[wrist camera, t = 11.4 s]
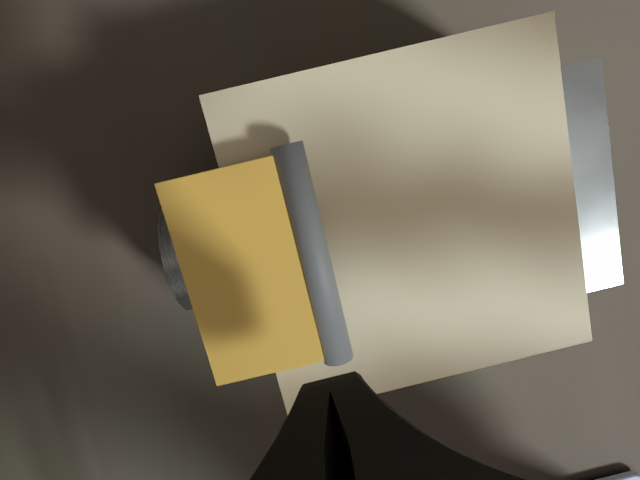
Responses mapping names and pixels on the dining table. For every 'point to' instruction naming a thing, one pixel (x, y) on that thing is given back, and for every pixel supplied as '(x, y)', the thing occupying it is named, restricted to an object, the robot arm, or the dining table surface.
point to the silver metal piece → (588, 173)
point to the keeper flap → (257, 265)
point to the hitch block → (432, 198)
